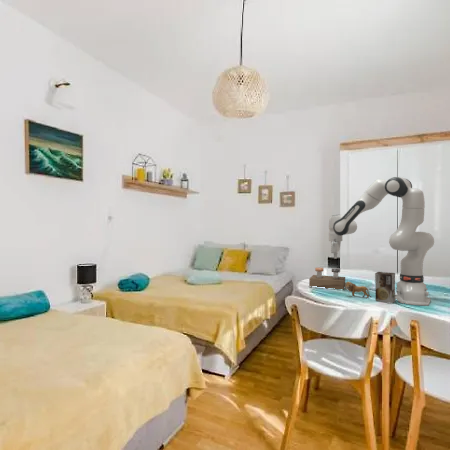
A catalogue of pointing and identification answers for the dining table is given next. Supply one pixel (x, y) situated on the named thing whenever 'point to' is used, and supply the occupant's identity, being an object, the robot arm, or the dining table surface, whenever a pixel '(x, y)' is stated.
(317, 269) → the plunger terracotta
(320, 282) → the press block
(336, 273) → the plunger grey
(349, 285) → the lion figurine
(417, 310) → the dining table surface
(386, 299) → the coffee box
